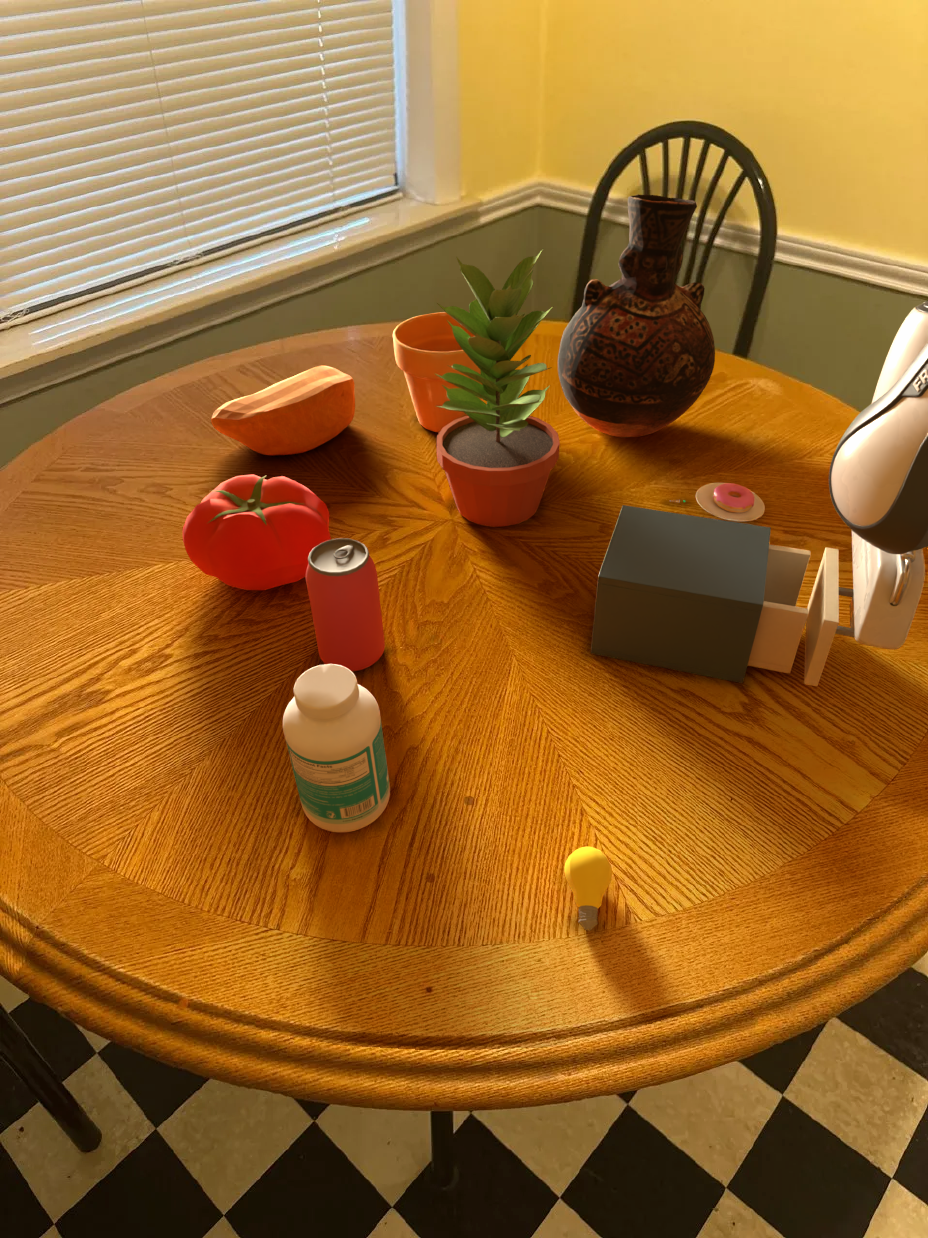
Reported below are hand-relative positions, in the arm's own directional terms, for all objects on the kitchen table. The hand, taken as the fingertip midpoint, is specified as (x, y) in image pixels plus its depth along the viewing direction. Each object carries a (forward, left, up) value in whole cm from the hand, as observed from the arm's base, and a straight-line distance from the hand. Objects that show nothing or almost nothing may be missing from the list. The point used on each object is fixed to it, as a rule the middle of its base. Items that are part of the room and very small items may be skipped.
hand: (858, 620), depth 80 cm
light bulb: (+18, +33, -5) cm, 38 cm away
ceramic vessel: (+28, -42, -5) cm, 51 cm away
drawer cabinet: (+16, 0, -5) cm, 17 cm away
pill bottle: (+39, +30, -5) cm, 50 cm away
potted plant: (+40, -17, -5) cm, 44 cm away
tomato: (+61, +3, -5) cm, 62 cm away
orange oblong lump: (+73, -26, -5) cm, 78 cm away
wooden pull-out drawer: (+7, 0, -4) cm, 8 cm away
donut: (+14, -24, -5) cm, 29 cm away
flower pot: (+53, -37, -5) cm, 65 cm away
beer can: (+46, +13, -5) cm, 48 cm away
